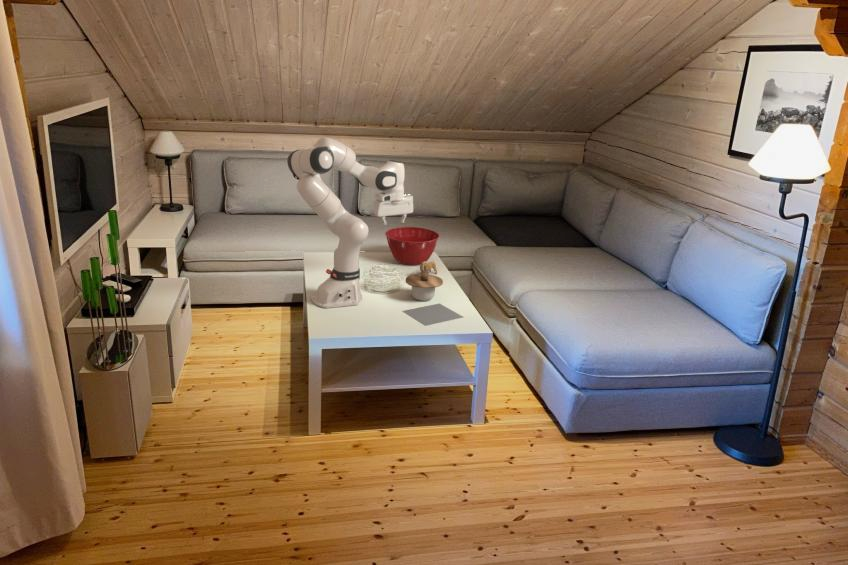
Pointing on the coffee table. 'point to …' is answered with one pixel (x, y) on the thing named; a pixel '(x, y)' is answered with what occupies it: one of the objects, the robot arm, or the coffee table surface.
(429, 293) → the teacup
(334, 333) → the coffee table surface
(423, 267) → the lion figurine
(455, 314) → the mat
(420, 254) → the mixing bowl
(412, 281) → the lid
